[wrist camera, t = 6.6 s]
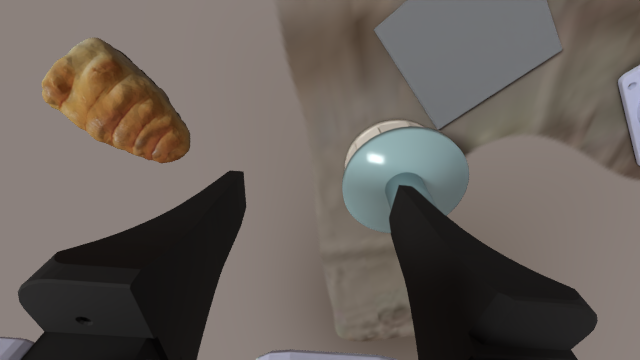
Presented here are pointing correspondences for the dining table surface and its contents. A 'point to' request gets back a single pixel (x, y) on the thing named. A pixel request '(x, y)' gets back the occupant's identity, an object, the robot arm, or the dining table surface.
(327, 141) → the dining table surface
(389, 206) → the lid
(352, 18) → the dining table surface
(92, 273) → the robot arm
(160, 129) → the pastry
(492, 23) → the mat
